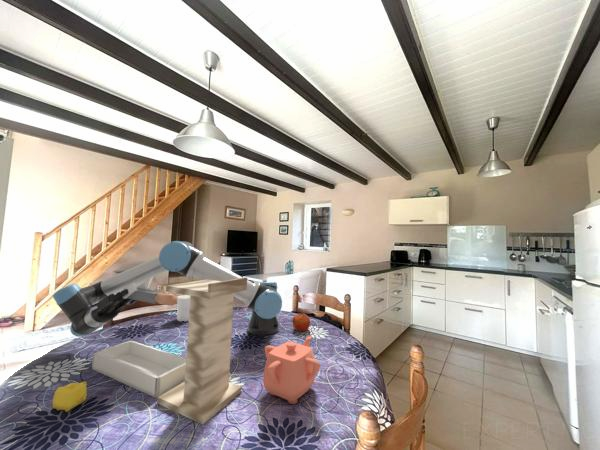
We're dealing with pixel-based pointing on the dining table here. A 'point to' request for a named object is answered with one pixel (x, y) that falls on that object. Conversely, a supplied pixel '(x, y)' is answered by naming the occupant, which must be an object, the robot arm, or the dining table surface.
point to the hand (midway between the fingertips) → (140, 285)
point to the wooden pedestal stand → (206, 350)
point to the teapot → (290, 370)
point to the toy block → (69, 396)
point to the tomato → (301, 322)
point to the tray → (141, 367)
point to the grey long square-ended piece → (153, 297)
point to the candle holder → (183, 307)
